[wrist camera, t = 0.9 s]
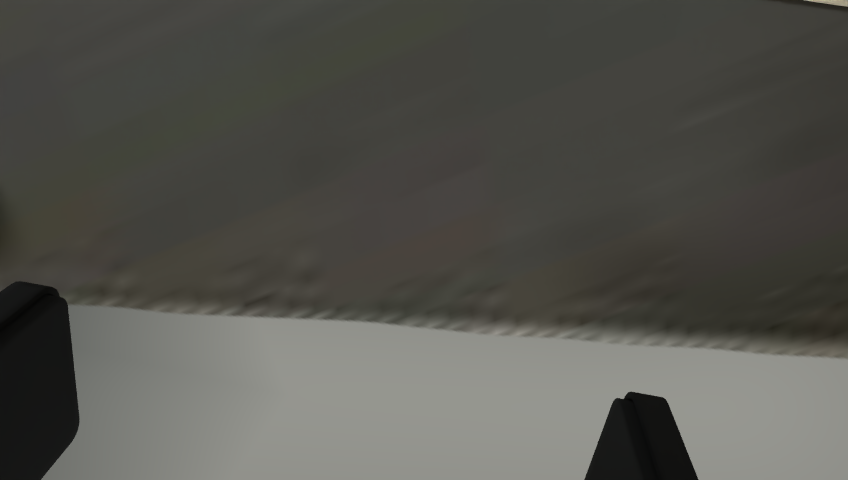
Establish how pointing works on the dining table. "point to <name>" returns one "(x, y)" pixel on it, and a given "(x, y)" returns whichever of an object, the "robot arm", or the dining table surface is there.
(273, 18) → the dining table surface
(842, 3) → the switch bracket
